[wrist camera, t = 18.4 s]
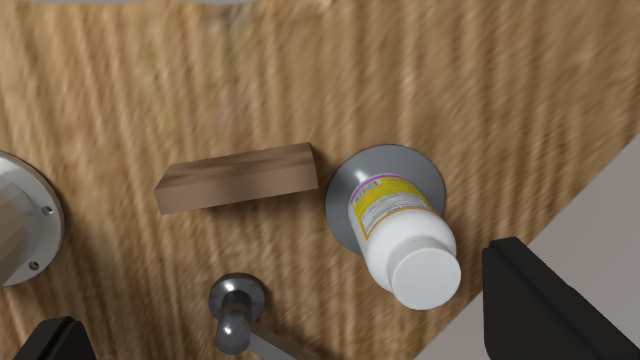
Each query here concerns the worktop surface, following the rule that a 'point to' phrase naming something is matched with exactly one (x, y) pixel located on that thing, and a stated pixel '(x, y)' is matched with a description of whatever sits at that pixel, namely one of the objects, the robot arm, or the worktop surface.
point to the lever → (246, 320)
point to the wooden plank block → (236, 178)
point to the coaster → (374, 163)
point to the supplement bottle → (404, 241)
